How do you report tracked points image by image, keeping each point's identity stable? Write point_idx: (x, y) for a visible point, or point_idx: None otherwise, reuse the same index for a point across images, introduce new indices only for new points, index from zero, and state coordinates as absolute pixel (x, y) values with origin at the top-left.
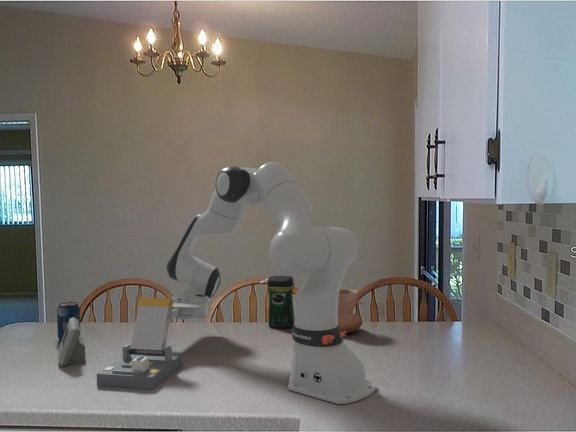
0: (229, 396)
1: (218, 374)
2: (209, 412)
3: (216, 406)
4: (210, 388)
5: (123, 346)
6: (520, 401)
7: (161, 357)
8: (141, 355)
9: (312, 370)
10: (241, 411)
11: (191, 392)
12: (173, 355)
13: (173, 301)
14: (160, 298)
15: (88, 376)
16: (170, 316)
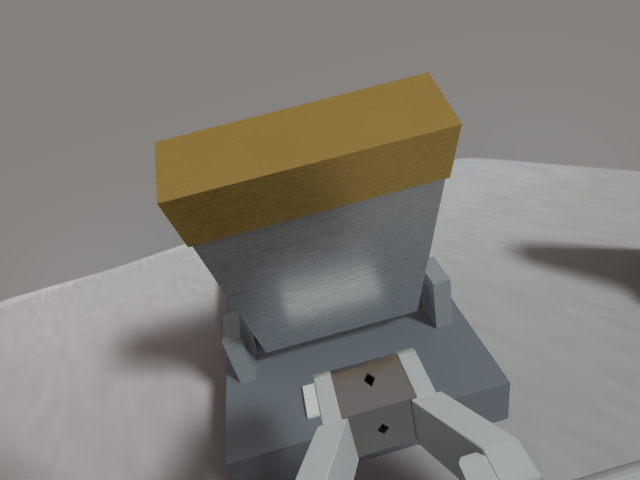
0: (23, 344)
1: (48, 458)
2: (73, 282)
3: (59, 301)
4: (76, 357)
5: (432, 259)
6: None
7: (297, 377)
8: None
9: None
10: (4, 308)
11: (128, 321)
12: (256, 421)
13: (162, 210)
14: (243, 124)
15: (491, 263)
16: (212, 273)
